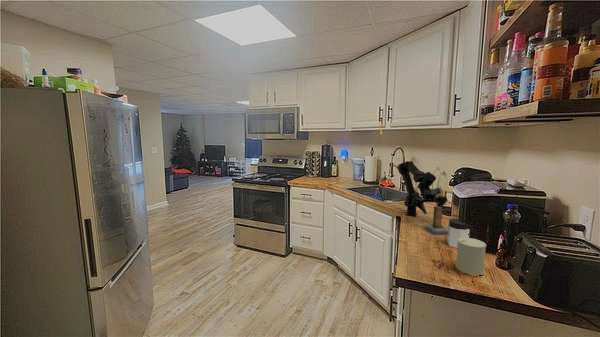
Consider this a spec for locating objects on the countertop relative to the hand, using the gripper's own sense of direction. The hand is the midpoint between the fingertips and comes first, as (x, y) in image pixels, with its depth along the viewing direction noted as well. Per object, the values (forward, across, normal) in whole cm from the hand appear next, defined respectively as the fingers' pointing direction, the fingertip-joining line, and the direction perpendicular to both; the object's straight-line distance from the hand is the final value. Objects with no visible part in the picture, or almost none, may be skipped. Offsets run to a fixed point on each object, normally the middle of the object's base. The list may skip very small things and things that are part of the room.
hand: (434, 213), depth 140 cm
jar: (+22, 0, -9) cm, 24 cm away
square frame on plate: (+9, 0, +4) cm, 10 cm away
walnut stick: (+8, 0, +3) cm, 9 cm away
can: (+38, -10, -26) cm, 47 cm away
